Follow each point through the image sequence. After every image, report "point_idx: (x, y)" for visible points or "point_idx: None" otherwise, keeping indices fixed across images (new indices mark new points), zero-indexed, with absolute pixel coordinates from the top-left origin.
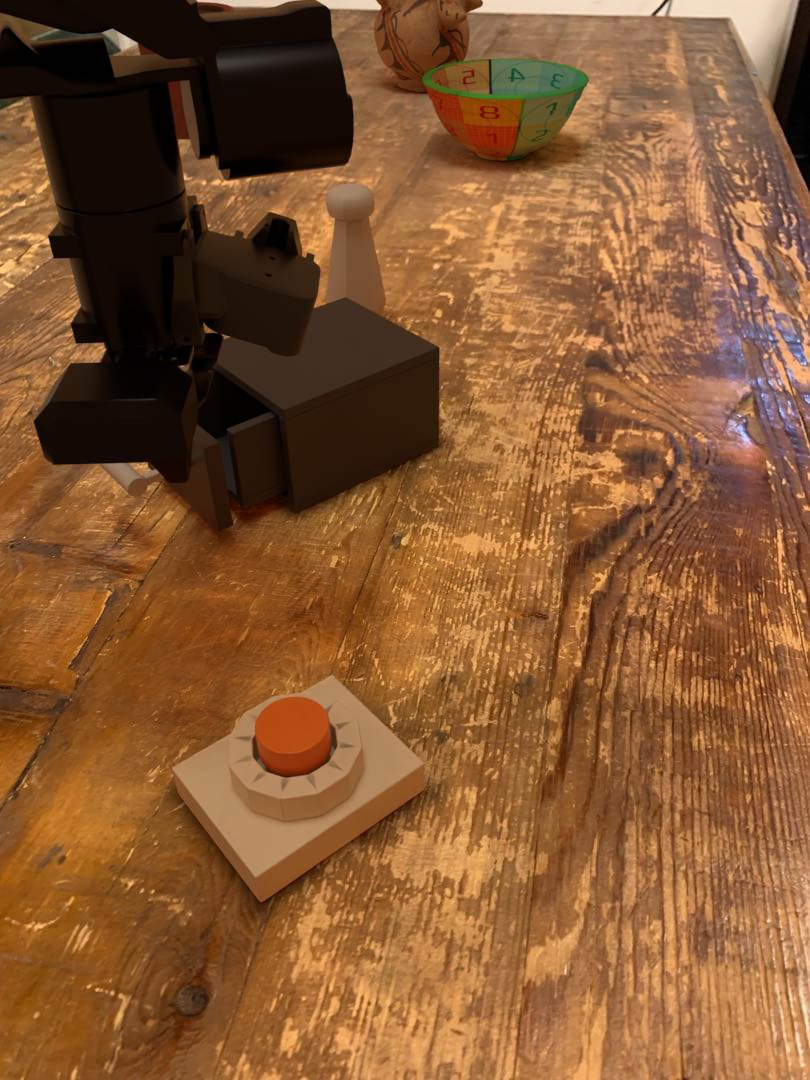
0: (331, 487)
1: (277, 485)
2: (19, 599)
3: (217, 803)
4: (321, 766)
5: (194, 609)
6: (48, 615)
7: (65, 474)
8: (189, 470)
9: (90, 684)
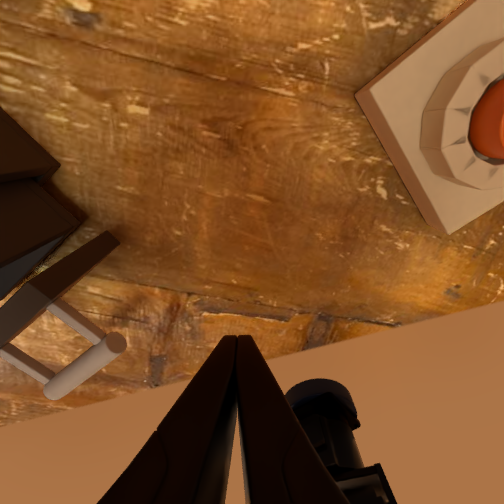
0: (1, 119)
1: (31, 189)
2: None
3: (500, 191)
4: None
5: (223, 246)
6: None
7: None
8: (233, 342)
9: (306, 304)
